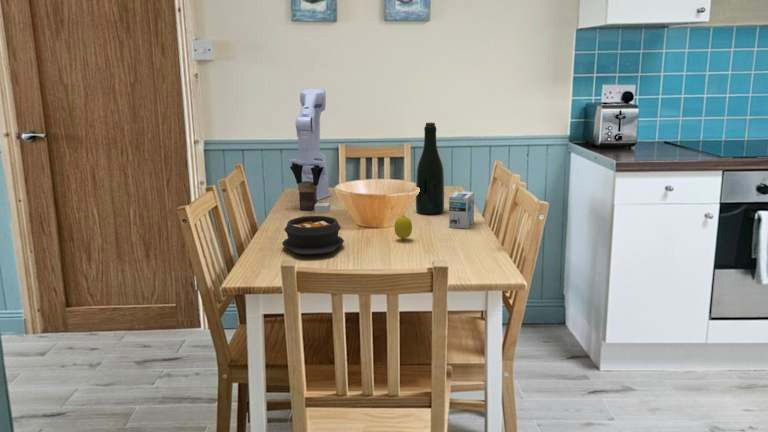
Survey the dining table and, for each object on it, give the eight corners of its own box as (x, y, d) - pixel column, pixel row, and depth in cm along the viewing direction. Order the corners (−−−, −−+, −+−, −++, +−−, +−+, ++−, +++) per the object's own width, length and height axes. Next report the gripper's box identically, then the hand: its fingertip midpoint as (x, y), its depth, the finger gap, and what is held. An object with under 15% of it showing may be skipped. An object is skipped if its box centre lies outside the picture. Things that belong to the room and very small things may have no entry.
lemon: (407, 236, 209) (407, 212, 207) (414, 241, 204) (414, 216, 202) (391, 238, 207) (391, 214, 206) (398, 243, 202) (398, 218, 201)
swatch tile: (319, 202, 261) (319, 201, 260) (332, 203, 258) (332, 202, 258) (311, 205, 255) (311, 204, 255) (324, 206, 253) (324, 205, 253)
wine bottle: (409, 211, 243) (409, 122, 235) (430, 207, 249) (430, 120, 241) (429, 216, 235) (429, 124, 227) (450, 212, 241) (451, 122, 234)
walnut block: (306, 188, 251) (305, 180, 250) (316, 189, 249) (316, 182, 248) (298, 190, 247) (298, 183, 246) (309, 192, 245) (309, 184, 244)
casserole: (347, 258, 188) (346, 230, 186) (282, 262, 186) (280, 233, 184) (341, 235, 212) (340, 210, 210) (283, 238, 210) (281, 213, 208)
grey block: (317, 210, 248) (316, 202, 248) (330, 210, 248) (329, 202, 247) (314, 213, 243) (314, 205, 243) (327, 213, 243) (327, 205, 242)
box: (315, 210, 247) (314, 191, 245) (299, 210, 247) (298, 191, 245) (317, 207, 253) (316, 188, 251) (301, 207, 253) (301, 188, 251)
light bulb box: (468, 229, 218) (468, 197, 215) (448, 227, 220) (448, 196, 217) (474, 221, 228) (474, 191, 225) (455, 220, 230) (455, 190, 227)
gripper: (283, 149, 244) (285, 184, 247) (316, 151, 237) (317, 188, 241) (295, 146, 250) (296, 181, 253) (326, 148, 243) (328, 184, 247)
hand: (307, 184), depth 247 cm, fingers open, 7 cm apart
